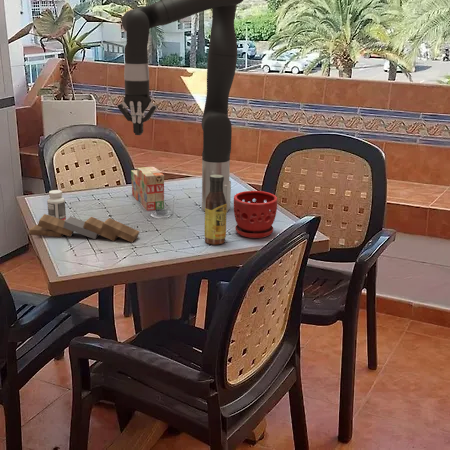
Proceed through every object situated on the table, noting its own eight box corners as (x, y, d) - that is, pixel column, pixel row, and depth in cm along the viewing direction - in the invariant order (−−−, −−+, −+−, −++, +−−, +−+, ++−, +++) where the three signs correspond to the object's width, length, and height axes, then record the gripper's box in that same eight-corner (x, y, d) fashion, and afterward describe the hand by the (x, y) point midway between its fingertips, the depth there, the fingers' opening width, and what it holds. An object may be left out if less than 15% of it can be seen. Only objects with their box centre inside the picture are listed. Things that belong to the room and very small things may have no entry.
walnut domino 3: (121, 229, 195) (91, 216, 196) (115, 235, 190) (84, 221, 191) (119, 235, 196) (89, 222, 196) (113, 241, 191) (83, 227, 192)
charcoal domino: (95, 239, 192) (63, 227, 192) (100, 233, 197) (68, 222, 197) (96, 233, 191) (64, 221, 191) (101, 227, 196) (70, 216, 196)
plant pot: (224, 232, 200) (224, 194, 196) (257, 224, 208) (258, 188, 204) (251, 244, 190) (252, 204, 186) (284, 235, 198) (286, 197, 194)
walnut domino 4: (139, 231, 194) (109, 217, 194) (134, 236, 189) (102, 222, 190) (137, 237, 194) (107, 223, 195) (131, 242, 190) (100, 228, 190)
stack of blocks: (131, 195, 239) (130, 162, 235) (148, 193, 241) (147, 160, 237) (146, 211, 220) (146, 175, 216) (164, 209, 222) (164, 174, 218)
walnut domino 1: (67, 226, 198) (36, 224, 200) (60, 232, 193) (29, 229, 195) (68, 233, 199) (37, 230, 200) (61, 238, 194) (29, 235, 196)
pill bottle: (65, 218, 211) (63, 188, 208) (67, 222, 206) (65, 193, 203) (47, 219, 209) (45, 190, 206) (49, 224, 205) (47, 194, 202)
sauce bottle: (218, 247, 187) (219, 179, 181) (200, 243, 190) (200, 176, 184) (230, 240, 193) (231, 175, 186) (212, 236, 196) (213, 172, 190)
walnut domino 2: (76, 224, 197) (44, 213, 196) (72, 230, 192) (39, 219, 191) (74, 230, 198) (43, 219, 197) (70, 236, 193) (37, 225, 192)
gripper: (161, 78, 202) (162, 133, 207) (120, 76, 205) (122, 131, 210) (153, 80, 195) (155, 138, 201) (111, 79, 198) (114, 135, 203)
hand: (138, 134), depth 205 cm, fingers closed
